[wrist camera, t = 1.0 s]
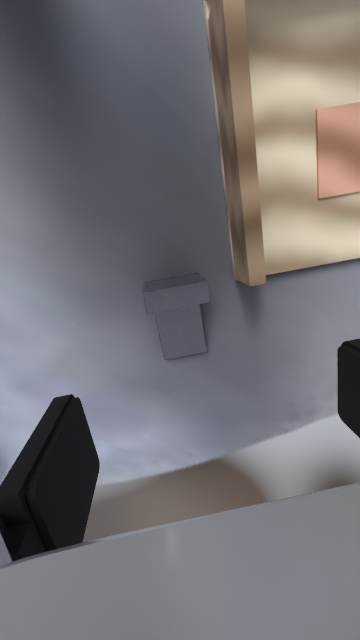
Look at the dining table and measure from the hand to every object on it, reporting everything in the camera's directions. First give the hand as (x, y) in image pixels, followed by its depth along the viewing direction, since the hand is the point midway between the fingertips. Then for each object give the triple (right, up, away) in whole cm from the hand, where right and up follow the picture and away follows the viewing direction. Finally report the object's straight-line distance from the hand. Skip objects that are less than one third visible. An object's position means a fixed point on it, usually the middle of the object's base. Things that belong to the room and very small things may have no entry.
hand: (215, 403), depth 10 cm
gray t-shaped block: (-1, +4, +23) cm, 23 cm away
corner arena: (+16, +22, +19) cm, 33 cm away
